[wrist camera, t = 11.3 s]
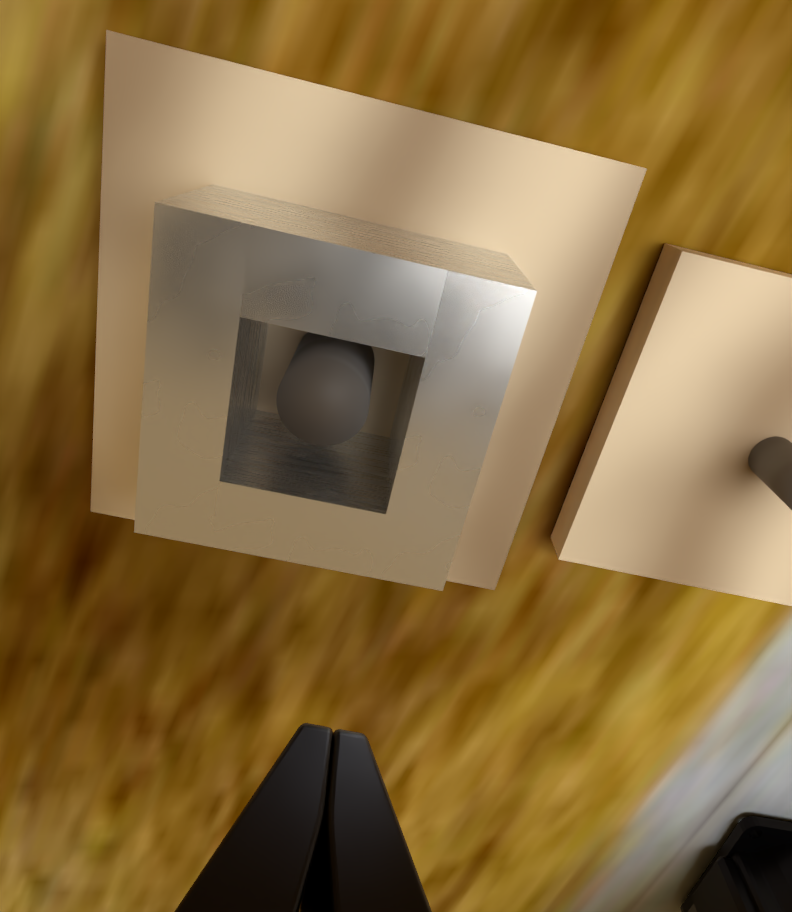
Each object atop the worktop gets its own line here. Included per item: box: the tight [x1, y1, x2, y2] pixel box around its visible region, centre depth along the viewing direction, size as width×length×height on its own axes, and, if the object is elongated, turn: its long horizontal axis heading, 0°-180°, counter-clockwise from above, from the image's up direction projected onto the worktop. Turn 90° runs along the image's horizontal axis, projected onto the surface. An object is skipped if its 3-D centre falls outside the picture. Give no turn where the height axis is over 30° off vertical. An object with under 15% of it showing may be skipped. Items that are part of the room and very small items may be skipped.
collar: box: [134, 184, 537, 591], centre depth 15 cm, size 7×7×4 cm
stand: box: [551, 243, 792, 606], centre depth 18 cm, size 9×9×4 cm
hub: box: [91, 30, 647, 590], centre depth 16 cm, size 12×12×4 cm
